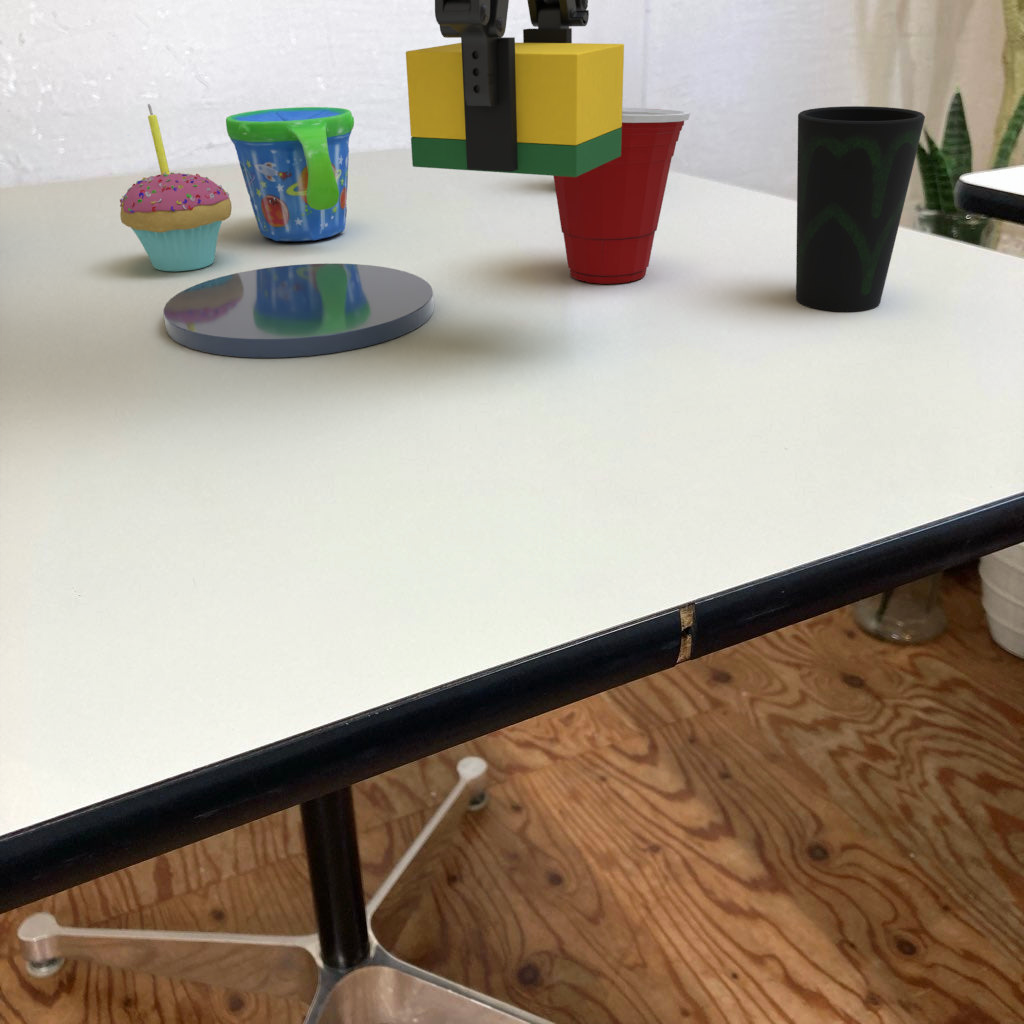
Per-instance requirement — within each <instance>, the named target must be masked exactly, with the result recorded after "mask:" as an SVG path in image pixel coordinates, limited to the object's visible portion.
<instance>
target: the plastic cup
mask: <svg viewBox="0 0 1024 1024" xmlns="http://www.w3.org/2000/svg"><path fill="white" fill-rule="evenodd" d="M690 115H691V113H690V112H688V111H683V110H682V111H681V110H673V109H661V108H659V109H658V108H645V107H623V106H622V127H620V128H622V139H621V156H620V157H618V158H616V159H614V160H612V161H609V162H607V163H605V164H603V165H601V166H599V167H596V168H594V169H592V170H590V171H588V172H586V173H584V174H581V175H579V176H577V177H565V176H553V182H554V189H555V195H556V196H555V197H556V203H557V209H558V215H559V223H560V229H561V233H563V241H564V248H565V254H566V261H567V268H568V269H569V272H570V277H571V276H572V278H573V277H574V278H573V279H575V280H577V281H580V280H581V281H580V282H584V281H585V282H584V283H588V284H600V285H611V284H613V285H614V284H625V283H631V282H635V281H638V280H641V279H643V278H644V277H645V276H646V275H647V269H648V268H649V266H650V261H651V255H652V249H653V244H654V241H655V240H654V239H655V234H656V231H657V230H658V225H659V221H660V216H661V211H662V208H663V207H662V206H663V201H664V196H665V192H666V188H667V181H668V177H669V173H670V167H671V163H672V158H673V157H674V155H675V150H676V146H677V142H678V141H679V137H680V133H681V131H682V130H683V126H684V125H685V121H688V120H689V118H690ZM630 281H631V282H630Z"/></svg>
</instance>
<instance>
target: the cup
mask: <svg viewBox="0 0 1024 1024" xmlns="http://www.w3.org/2000/svg"><path fill="white" fill-rule="evenodd" d="M925 120H926V116H925V115H924V113H923V112H921V111H918V110H915V109H914V110H913V109H907V108H901V107H889V106H867V105H866V106H863V105H859V106H858V105H857V106H856V105H855V106H853V105H852V106H851V105H849V106H845V105H844V106H826V107H815V108H808V109H805V110H802V111H800V112H799V113H798V114H797V163H796V164H797V170H796V171H797V173H796V174H797V175H796V177H797V178H796V179H797V180H796V181H797V182H796V259H795V261H796V265H795V266H796V267H795V268H796V269H795V270H796V271H795V274H796V275H795V283H796V284H795V300H796V301H797V302H798V303H799V304H801V305H803V306H805V307H808V308H811V309H815V310H822V311H826V312H827V311H828V312H841V313H844V312H845V313H849V312H852V313H853V312H863V311H869V310H871V309H875V308H876V307H879V306H880V304H881V301H882V298H883V293H884V289H885V284H886V281H887V278H888V277H887V276H888V272H889V268H890V264H891V260H892V256H893V252H894V248H895V243H896V239H897V236H898V235H897V234H898V230H899V226H900V222H901V218H902V214H903V211H904V207H905V202H906V197H907V194H908V189H909V186H910V182H911V178H912V174H913V173H912V172H913V170H914V169H913V168H914V164H915V160H916V157H917V153H918V148H919V145H920V140H921V136H922V132H923V128H924V124H925Z"/></svg>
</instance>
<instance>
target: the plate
mask: <svg viewBox="0 0 1024 1024" xmlns="http://www.w3.org/2000/svg"><path fill="white" fill-rule="evenodd" d="M434 303H435V299H434V290H433V287H432V286H431V284H430V283H429V282H428V281H426V280H425V279H424V278H423V277H420V276H418V275H416V274H414V273H411V272H408V271H404V270H400V269H398V268H397V269H396V268H392V267H385V266H380V265H372V264H359V263H357V264H356V263H305V264H303V263H302V264H290V265H281V266H272V267H264V268H258V269H252V270H246V271H241V272H237V273H236V272H235V273H232V274H228V275H223V276H219V277H216V278H213V279H209V280H206V281H203V282H201V283H197V284H195V285H193V286H190V287H187V288H185V289H183V290H182V291H180V292H177V294H175V295H174V296H173V297H170V299H169V300H168V301H167V302H166V303H165V305H164V307H163V309H162V316H163V319H164V320H163V321H164V326H165V332H166V333H167V335H168V336H169V338H171V340H173V341H174V342H175V343H178V344H179V345H181V346H183V347H186V348H189V349H191V350H195V351H198V352H203V353H206V354H212V355H217V356H227V357H235V358H251V359H252V358H253V359H279V358H280V359H283V358H300V357H311V356H312V357H313V356H319V355H320V356H321V355H329V354H335V353H341V352H347V351H353V350H358V349H362V348H366V347H371V346H374V345H377V344H381V343H385V342H387V341H388V342H389V341H391V340H394V339H396V338H400V337H402V336H404V335H407V334H408V333H410V332H412V331H414V330H417V329H418V328H419V327H421V326H423V325H424V324H425V323H426V322H428V320H430V318H431V317H432V315H433V314H434V310H435V304H434Z"/></svg>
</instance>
